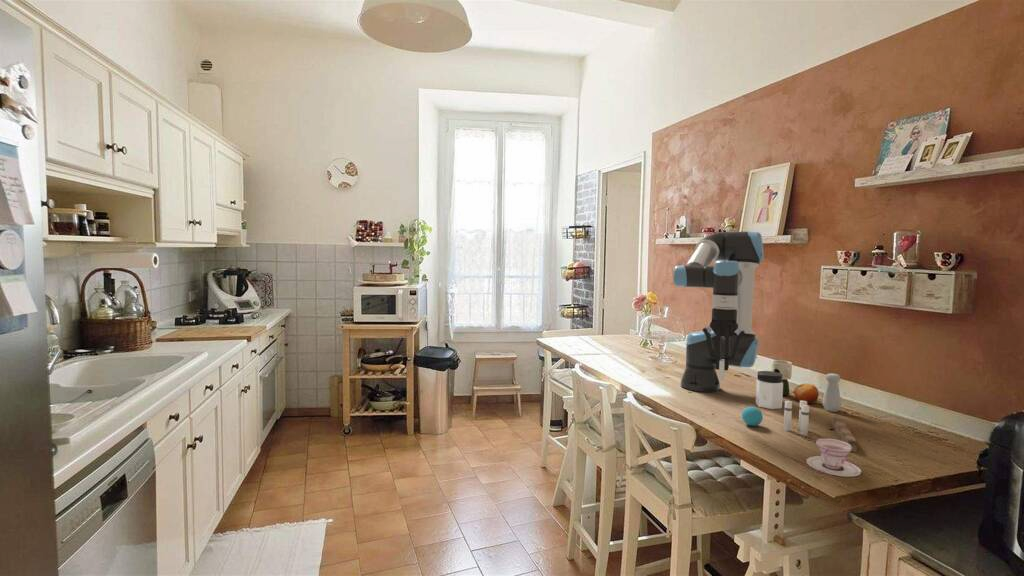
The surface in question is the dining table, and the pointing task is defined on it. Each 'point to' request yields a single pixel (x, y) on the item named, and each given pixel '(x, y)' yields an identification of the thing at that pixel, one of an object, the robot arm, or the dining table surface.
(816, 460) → the teacup
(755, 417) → the teal ball
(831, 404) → the salt shaker
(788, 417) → the front pin
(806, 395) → the fruit
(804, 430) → the pin
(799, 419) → the pin
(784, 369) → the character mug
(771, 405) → the jar
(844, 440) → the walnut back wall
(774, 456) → the dining table surface
